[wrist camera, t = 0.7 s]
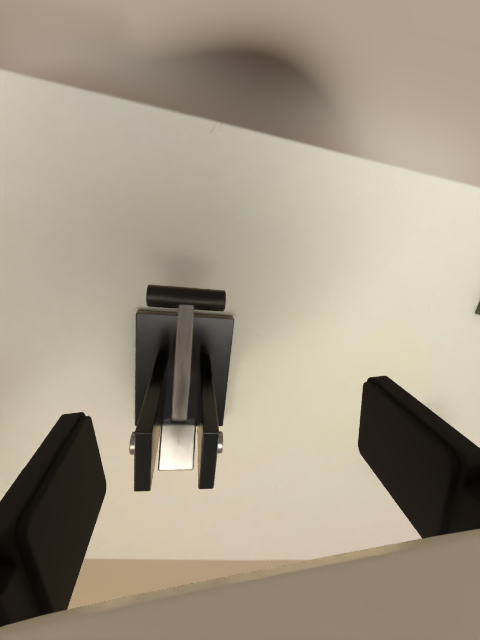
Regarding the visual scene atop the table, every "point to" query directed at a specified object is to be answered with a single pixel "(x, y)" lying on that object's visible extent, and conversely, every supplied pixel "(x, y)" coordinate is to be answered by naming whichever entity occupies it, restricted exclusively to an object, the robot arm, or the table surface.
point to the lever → (181, 370)
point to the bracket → (157, 388)
